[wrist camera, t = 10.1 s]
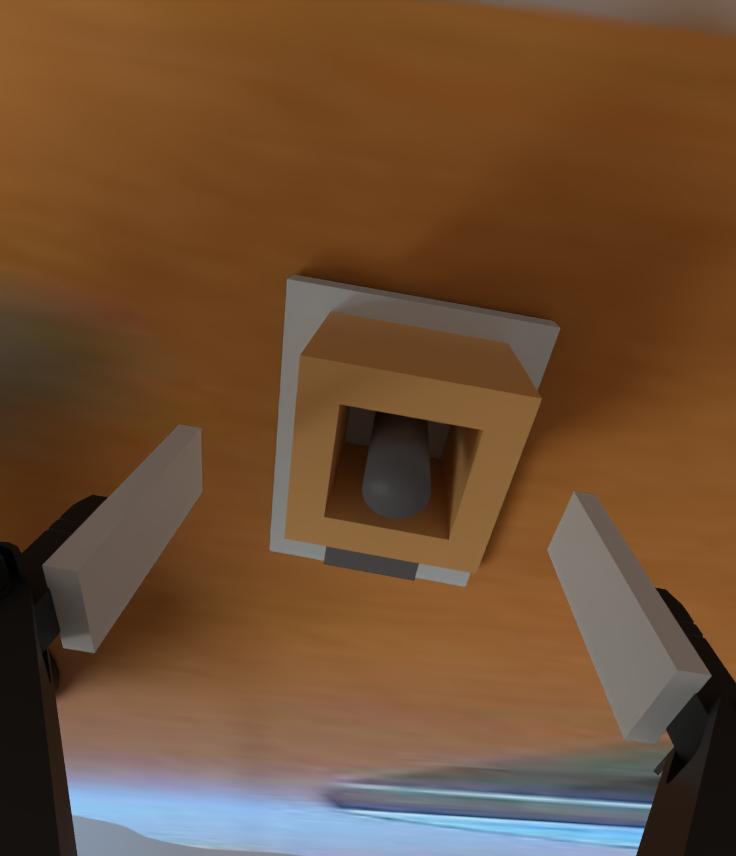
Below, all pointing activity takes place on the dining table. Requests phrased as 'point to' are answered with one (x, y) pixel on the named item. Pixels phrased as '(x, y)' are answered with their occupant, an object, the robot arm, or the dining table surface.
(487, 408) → the link
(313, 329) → the keeper board
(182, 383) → the dining table surface
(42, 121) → the dining table surface
